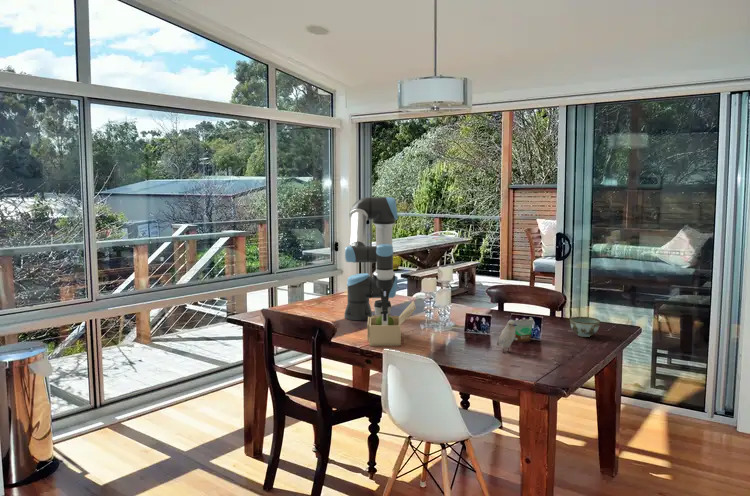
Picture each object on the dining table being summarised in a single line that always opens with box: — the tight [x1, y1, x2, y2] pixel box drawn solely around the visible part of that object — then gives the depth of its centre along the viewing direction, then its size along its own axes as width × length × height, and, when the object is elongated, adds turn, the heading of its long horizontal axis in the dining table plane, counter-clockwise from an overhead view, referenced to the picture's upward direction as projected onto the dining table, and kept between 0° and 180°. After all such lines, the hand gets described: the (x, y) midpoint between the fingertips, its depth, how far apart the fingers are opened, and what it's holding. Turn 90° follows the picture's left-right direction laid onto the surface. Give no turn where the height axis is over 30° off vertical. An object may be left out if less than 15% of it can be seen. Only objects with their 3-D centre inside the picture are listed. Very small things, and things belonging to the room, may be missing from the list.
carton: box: [366, 315, 402, 347], centre depth 285 cm, size 20×15×10 cm
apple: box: [376, 315, 394, 325], centre depth 285 cm, size 9×8×12 cm
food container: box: [512, 316, 535, 343], centre depth 284 cm, size 12×6×10 cm, turn 117°
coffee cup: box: [373, 299, 392, 316], centre depth 302 cm, size 8×8×15 cm
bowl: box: [569, 316, 601, 338], centre depth 292 cm, size 14×13×8 cm
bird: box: [496, 319, 517, 354], centre depth 264 cm, size 5×14×15 cm, turn 23°
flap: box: [398, 300, 417, 325], centre depth 284 cm, size 16×1×10 cm
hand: (384, 324), depth 285 cm, fingers open, 13 cm apart
